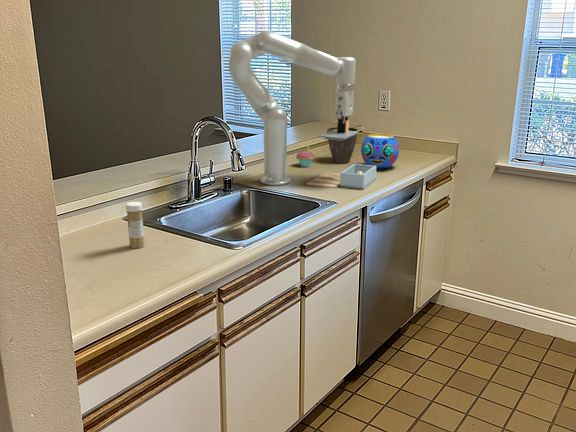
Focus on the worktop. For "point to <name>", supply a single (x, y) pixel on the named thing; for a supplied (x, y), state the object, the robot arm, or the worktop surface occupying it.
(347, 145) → the plant pot
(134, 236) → the sprinkles bottle
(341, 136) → the lid
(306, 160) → the cupcake
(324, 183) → the mat
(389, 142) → the ceramic pot
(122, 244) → the worktop surface
